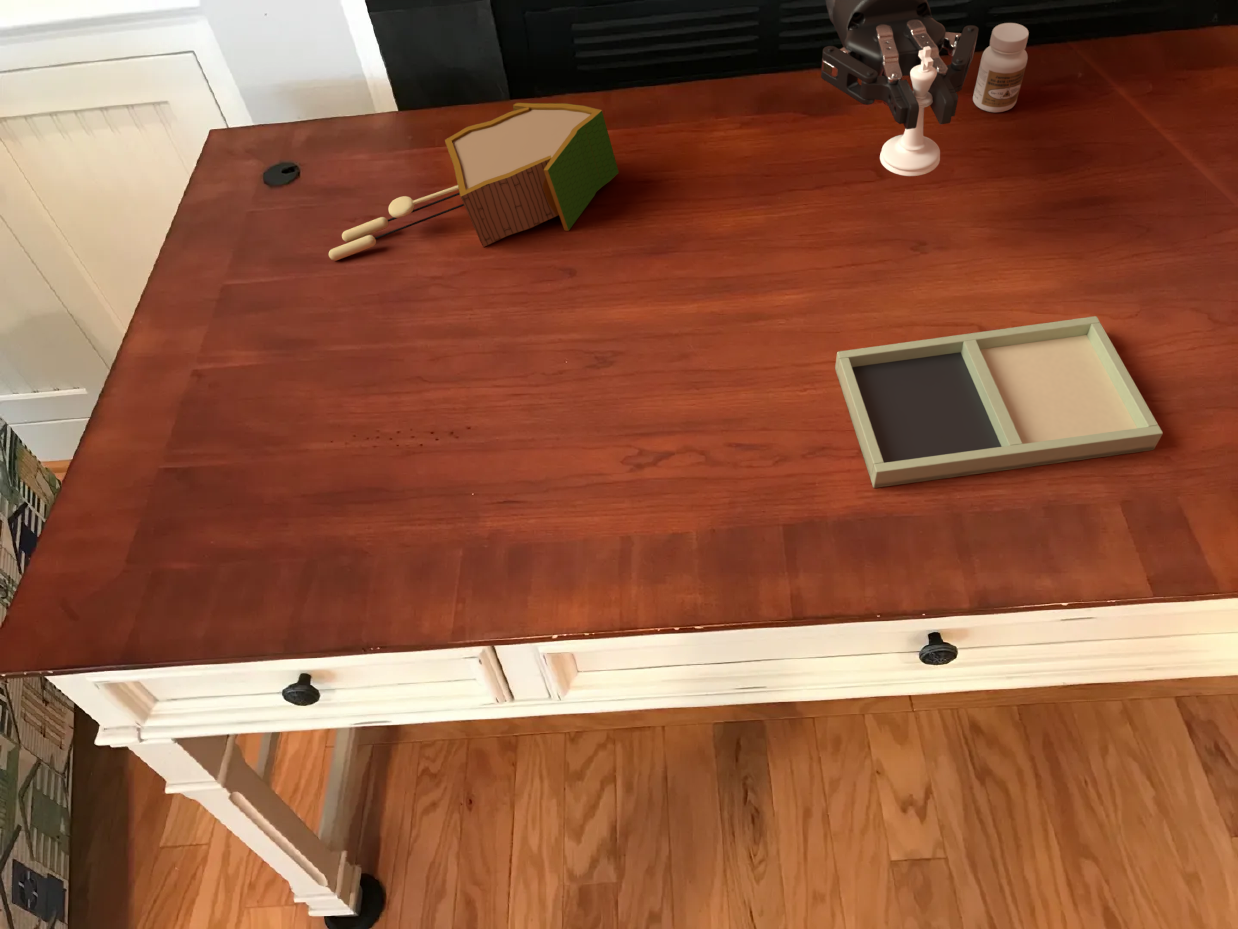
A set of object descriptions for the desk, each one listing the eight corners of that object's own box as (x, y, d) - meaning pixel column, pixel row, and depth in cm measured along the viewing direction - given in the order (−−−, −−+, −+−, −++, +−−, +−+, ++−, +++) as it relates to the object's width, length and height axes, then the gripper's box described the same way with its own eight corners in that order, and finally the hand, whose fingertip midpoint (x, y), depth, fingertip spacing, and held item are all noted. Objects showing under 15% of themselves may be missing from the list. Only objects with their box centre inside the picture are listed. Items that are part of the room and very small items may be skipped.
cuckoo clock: (351, 315, 97) (635, 207, 97) (315, 260, 91) (618, 144, 90) (337, 238, 104) (602, 137, 104) (302, 182, 97) (584, 74, 97)
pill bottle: (984, 117, 101) (1000, 47, 95) (964, 94, 104) (979, 25, 98) (1023, 108, 102) (1042, 37, 96) (1003, 85, 104) (1020, 15, 98)
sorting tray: (1089, 333, 83) (1096, 315, 81) (1153, 450, 75) (1163, 433, 73) (834, 368, 83) (836, 351, 81) (873, 488, 75) (876, 472, 74)
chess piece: (925, 135, 85) (944, 25, 77) (949, 168, 82) (972, 57, 74) (870, 147, 84) (884, 38, 77) (893, 181, 82) (909, 71, 74)
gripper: (798, -27, 84) (846, 86, 74) (959, -51, 84) (1030, 59, 73) (794, 54, 90) (838, 169, 80) (944, 32, 90) (1008, 144, 79)
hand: (930, 115), depth 77 cm, fingers closed on chess piece
